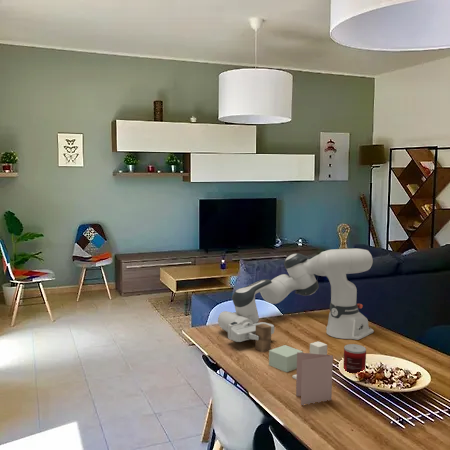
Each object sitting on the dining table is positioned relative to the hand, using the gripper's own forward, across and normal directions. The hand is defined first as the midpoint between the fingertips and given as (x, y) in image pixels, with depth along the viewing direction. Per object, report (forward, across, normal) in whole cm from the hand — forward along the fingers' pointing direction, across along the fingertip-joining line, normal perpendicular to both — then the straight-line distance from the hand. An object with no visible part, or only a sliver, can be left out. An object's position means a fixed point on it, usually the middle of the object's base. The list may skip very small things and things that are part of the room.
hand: (264, 336), depth 206 cm
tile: (+31, +5, -6) cm, 32 cm away
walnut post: (-1, 0, -6) cm, 6 cm away
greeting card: (+44, +17, -6) cm, 48 cm away
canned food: (+39, -9, -6) cm, 41 cm away
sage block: (+17, +4, -6) cm, 18 cm away
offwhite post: (+27, -3, -6) cm, 28 cm away
